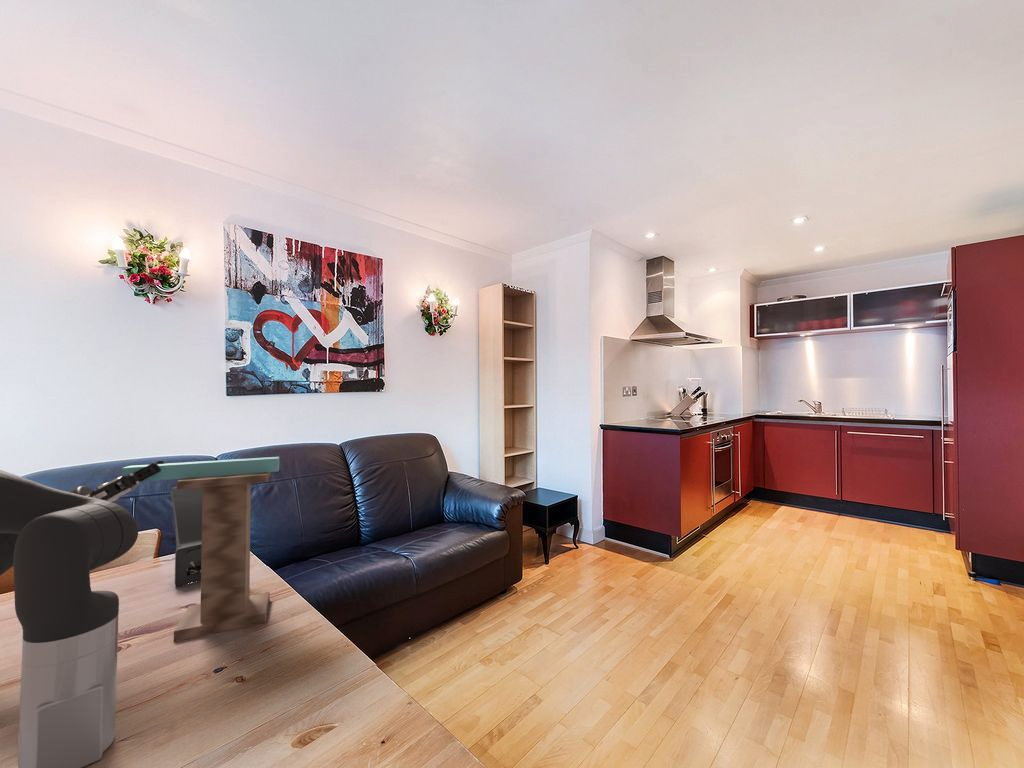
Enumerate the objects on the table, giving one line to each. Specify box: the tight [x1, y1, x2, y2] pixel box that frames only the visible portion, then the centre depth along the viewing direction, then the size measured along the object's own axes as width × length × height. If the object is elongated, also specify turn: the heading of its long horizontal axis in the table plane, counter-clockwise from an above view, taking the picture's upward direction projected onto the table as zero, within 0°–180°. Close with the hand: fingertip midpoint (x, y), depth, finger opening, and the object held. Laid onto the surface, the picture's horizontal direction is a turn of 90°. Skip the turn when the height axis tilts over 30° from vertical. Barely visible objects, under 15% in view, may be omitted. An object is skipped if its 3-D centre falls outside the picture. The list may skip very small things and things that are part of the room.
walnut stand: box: [173, 472, 272, 642], centre depth 95 cm, size 16×12×32 cm
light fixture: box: [170, 486, 203, 588], centre depth 122 cm, size 11×17×24 cm, turn 48°
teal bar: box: [121, 456, 280, 482], centre depth 94 cm, size 28×4×3 cm, turn 116°
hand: (161, 465), depth 91 cm, fingers closed on teal bar, 4 cm apart
